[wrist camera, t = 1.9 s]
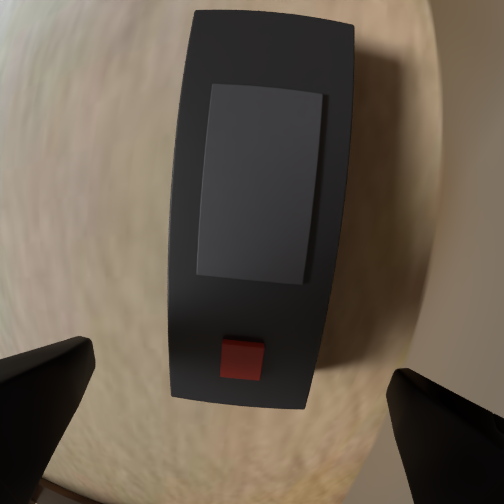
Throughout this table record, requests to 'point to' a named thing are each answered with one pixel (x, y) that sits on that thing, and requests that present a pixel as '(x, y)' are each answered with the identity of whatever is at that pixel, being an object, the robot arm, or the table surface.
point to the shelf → (56, 495)
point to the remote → (256, 204)
